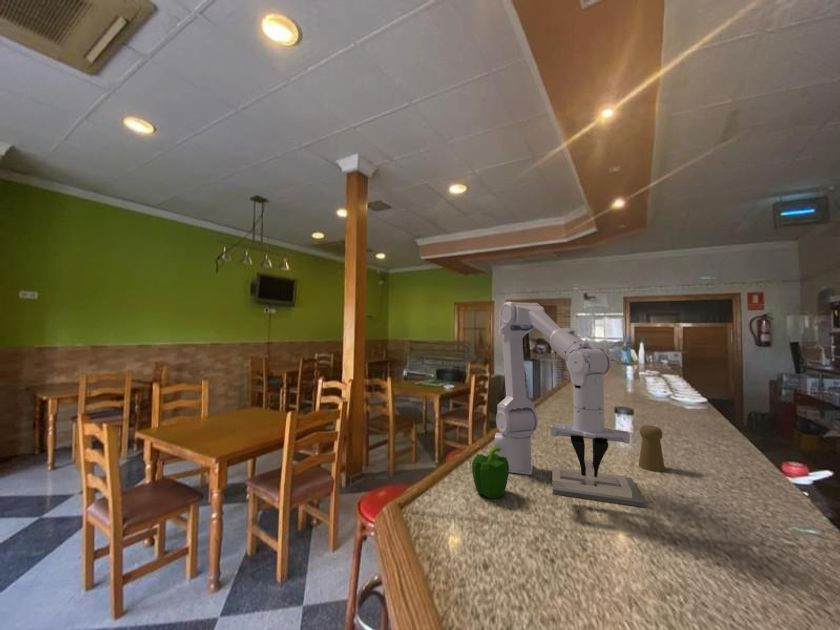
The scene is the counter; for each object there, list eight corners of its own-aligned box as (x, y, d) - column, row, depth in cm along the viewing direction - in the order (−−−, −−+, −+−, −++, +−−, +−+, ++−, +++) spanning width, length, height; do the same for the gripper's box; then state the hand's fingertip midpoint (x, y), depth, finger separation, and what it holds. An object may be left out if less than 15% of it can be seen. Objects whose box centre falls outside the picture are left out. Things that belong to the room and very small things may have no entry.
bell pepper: (478, 503, 78) (478, 455, 78) (467, 487, 86) (467, 443, 86) (516, 501, 79) (516, 453, 79) (501, 485, 87) (501, 442, 87)
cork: (669, 472, 96) (668, 429, 96) (643, 470, 97) (642, 428, 98) (659, 464, 102) (658, 424, 102) (635, 462, 103) (634, 422, 103)
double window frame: (552, 486, 73) (552, 466, 74) (552, 472, 81) (552, 453, 81) (632, 498, 69) (631, 476, 69) (624, 481, 76) (624, 462, 76)
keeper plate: (552, 493, 83) (552, 478, 83) (552, 471, 96) (552, 458, 96) (645, 507, 76) (644, 491, 77) (631, 481, 90) (631, 468, 90)
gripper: (550, 408, 74) (550, 476, 74) (632, 414, 69) (633, 488, 69) (550, 401, 81) (551, 464, 80) (625, 407, 76) (626, 474, 75)
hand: (588, 474), depth 75 cm, fingers closed on double window frame
